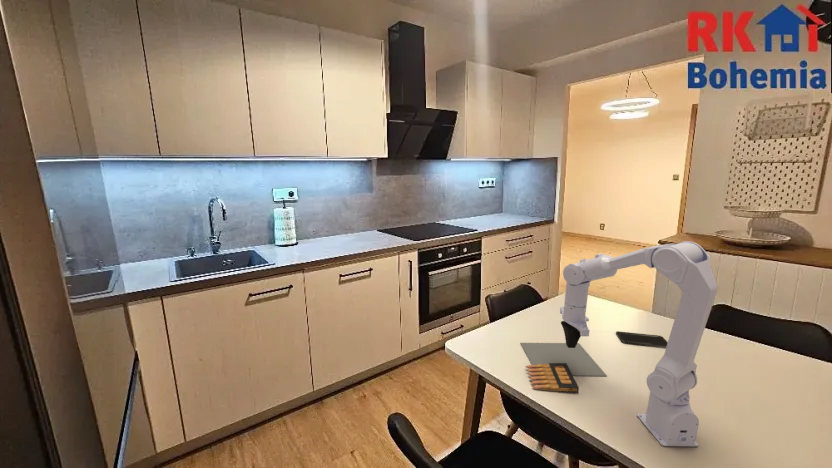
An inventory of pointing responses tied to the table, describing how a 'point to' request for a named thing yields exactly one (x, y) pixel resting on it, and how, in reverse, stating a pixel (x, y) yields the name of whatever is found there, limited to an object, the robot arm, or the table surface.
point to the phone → (642, 339)
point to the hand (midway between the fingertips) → (570, 346)
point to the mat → (563, 357)
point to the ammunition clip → (553, 377)
